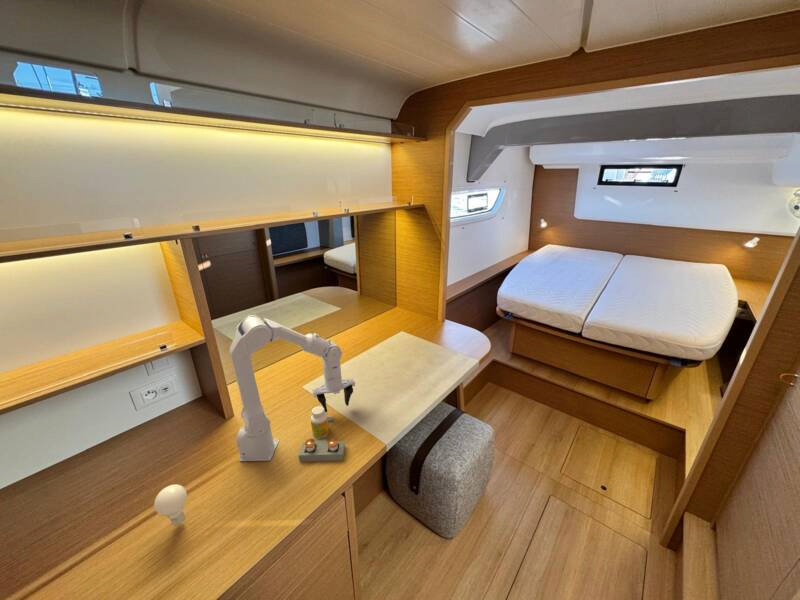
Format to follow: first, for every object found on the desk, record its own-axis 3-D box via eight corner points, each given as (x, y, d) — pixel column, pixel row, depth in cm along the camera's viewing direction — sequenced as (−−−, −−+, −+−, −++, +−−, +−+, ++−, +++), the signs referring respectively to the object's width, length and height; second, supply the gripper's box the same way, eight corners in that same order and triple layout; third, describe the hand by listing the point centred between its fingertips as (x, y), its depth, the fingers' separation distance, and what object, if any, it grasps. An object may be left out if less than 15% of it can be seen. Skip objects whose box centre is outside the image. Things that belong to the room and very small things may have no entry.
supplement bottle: (312, 441, 103) (309, 416, 99) (312, 429, 108) (309, 406, 104) (329, 437, 104) (326, 413, 101) (328, 426, 109) (325, 403, 106)
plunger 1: (305, 457, 96) (303, 446, 94) (307, 449, 99) (306, 438, 97) (315, 457, 96) (313, 446, 94) (317, 449, 99) (315, 438, 97)
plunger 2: (328, 456, 96) (326, 445, 94) (330, 448, 99) (328, 438, 97) (338, 456, 96) (336, 445, 94) (339, 448, 99) (338, 438, 97)
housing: (299, 461, 95) (298, 455, 94) (313, 420, 111) (312, 415, 111) (342, 460, 95) (341, 454, 94) (350, 420, 112) (349, 414, 111)
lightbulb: (199, 509, 81) (188, 477, 78) (184, 534, 76) (172, 502, 72) (174, 510, 81) (162, 478, 78) (157, 536, 75) (143, 503, 72)
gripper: (313, 386, 101) (318, 420, 106) (356, 375, 107) (359, 407, 111) (309, 375, 107) (314, 408, 112) (350, 365, 113) (353, 396, 117)
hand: (336, 407), depth 112 cm, fingers open, 7 cm apart
